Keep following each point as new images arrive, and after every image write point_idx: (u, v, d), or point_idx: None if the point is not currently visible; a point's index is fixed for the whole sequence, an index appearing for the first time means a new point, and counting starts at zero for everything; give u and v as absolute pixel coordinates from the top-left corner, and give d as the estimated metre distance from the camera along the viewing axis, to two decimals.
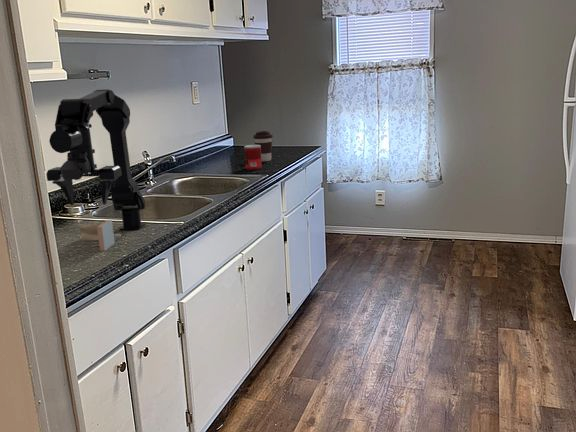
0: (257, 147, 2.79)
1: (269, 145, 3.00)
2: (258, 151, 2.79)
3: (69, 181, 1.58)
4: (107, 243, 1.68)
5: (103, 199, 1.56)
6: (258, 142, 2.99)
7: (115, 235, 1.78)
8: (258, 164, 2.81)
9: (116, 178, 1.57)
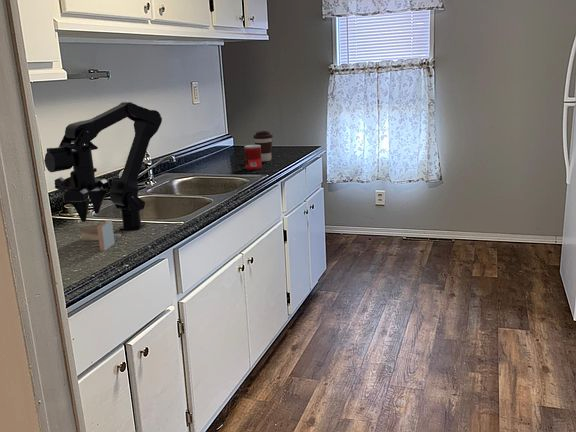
0: (257, 147, 2.79)
1: (269, 145, 3.00)
2: (258, 151, 2.79)
3: (98, 193, 1.80)
4: (107, 243, 1.68)
5: None
6: (258, 142, 2.99)
7: (115, 235, 1.78)
8: (258, 164, 2.81)
9: (81, 202, 1.67)
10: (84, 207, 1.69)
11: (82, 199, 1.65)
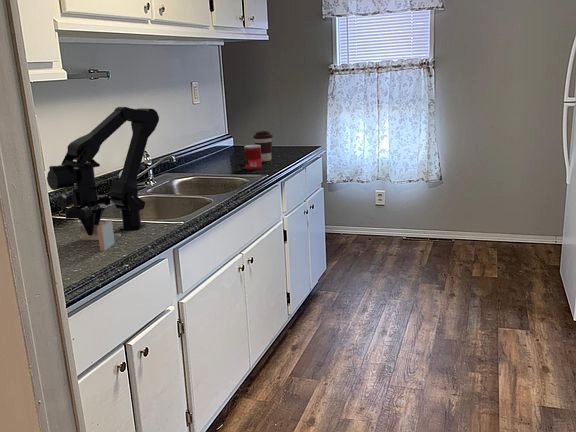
0: (257, 147, 2.79)
1: (269, 145, 3.00)
2: (258, 151, 2.79)
3: (95, 212, 1.78)
4: (107, 243, 1.68)
5: None
6: (258, 142, 2.99)
7: (115, 235, 1.78)
8: (258, 164, 2.81)
9: (87, 216, 1.71)
10: (91, 221, 1.73)
11: (84, 217, 1.67)
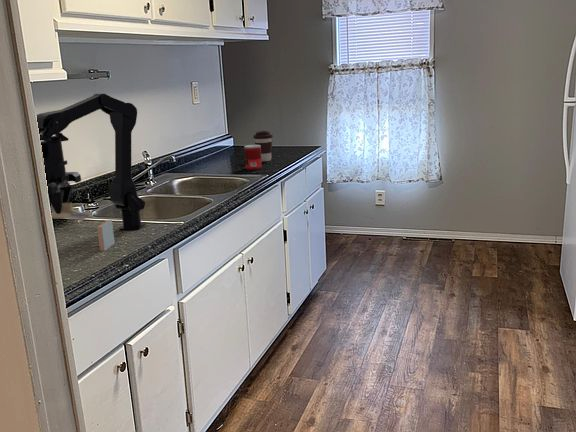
0: (257, 147, 2.78)
1: (269, 145, 3.00)
2: (258, 151, 2.79)
3: (64, 189, 1.68)
4: (107, 243, 1.68)
5: None
6: (258, 142, 2.99)
7: (85, 213, 1.68)
8: (258, 164, 2.81)
9: (54, 193, 1.62)
10: (58, 198, 1.64)
11: (50, 192, 1.57)
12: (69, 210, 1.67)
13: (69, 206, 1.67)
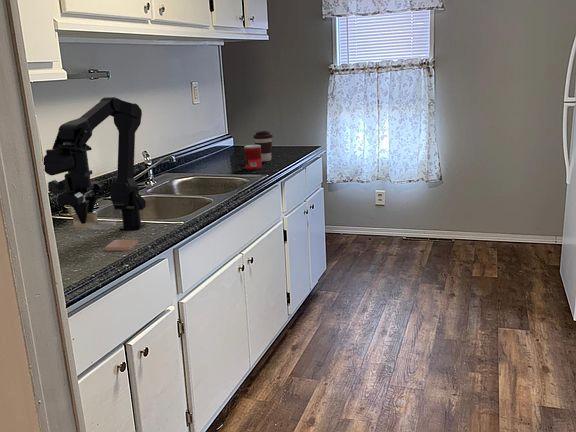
0: (257, 147, 2.78)
1: (269, 145, 3.00)
2: (258, 151, 2.79)
3: (89, 199, 1.68)
4: None
5: None
6: (258, 142, 2.99)
7: (110, 223, 1.68)
8: (258, 164, 2.81)
9: (80, 203, 1.62)
10: (84, 208, 1.64)
11: (76, 203, 1.57)
12: (94, 220, 1.67)
13: (94, 216, 1.67)
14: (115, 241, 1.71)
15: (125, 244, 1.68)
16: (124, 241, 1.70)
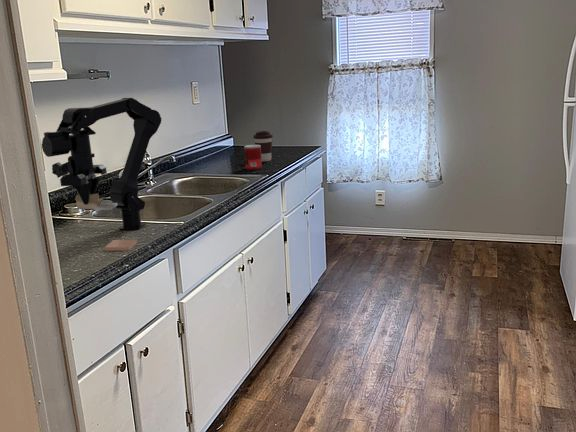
0: (257, 147, 2.78)
1: (269, 145, 3.00)
2: (258, 151, 2.79)
3: (91, 181, 1.75)
4: None
5: None
6: (258, 142, 2.99)
7: (111, 204, 1.75)
8: (258, 164, 2.81)
9: (83, 184, 1.69)
10: (86, 190, 1.71)
11: (80, 184, 1.64)
12: (96, 201, 1.74)
13: (96, 197, 1.74)
14: (114, 241, 1.71)
15: (125, 244, 1.68)
16: (123, 241, 1.70)
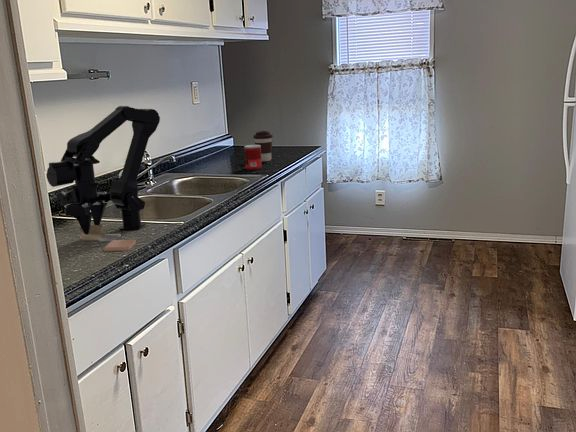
0: (257, 147, 2.78)
1: (269, 145, 3.00)
2: (258, 151, 2.79)
3: (98, 207, 1.80)
4: None
5: None
6: (258, 142, 2.99)
7: (115, 235, 1.78)
8: (258, 164, 2.81)
9: (84, 215, 1.69)
10: (87, 220, 1.71)
11: (84, 213, 1.66)
12: (100, 232, 1.77)
13: (100, 228, 1.77)
14: (113, 241, 1.70)
15: (124, 244, 1.68)
16: (123, 242, 1.70)
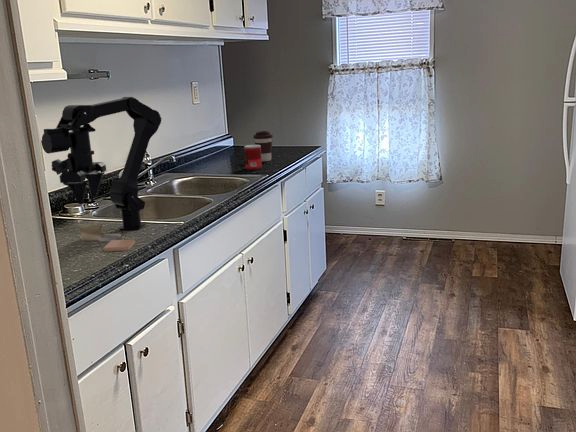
0: (257, 147, 2.78)
1: (269, 145, 3.00)
2: (258, 151, 2.79)
3: (95, 176, 1.78)
4: None
5: None
6: (258, 142, 2.99)
7: (115, 235, 1.78)
8: (258, 164, 2.81)
9: (78, 184, 1.65)
10: (81, 189, 1.68)
11: (79, 181, 1.64)
12: (100, 232, 1.77)
13: (100, 228, 1.77)
14: (112, 242, 1.70)
15: (123, 244, 1.68)
16: (122, 242, 1.70)
